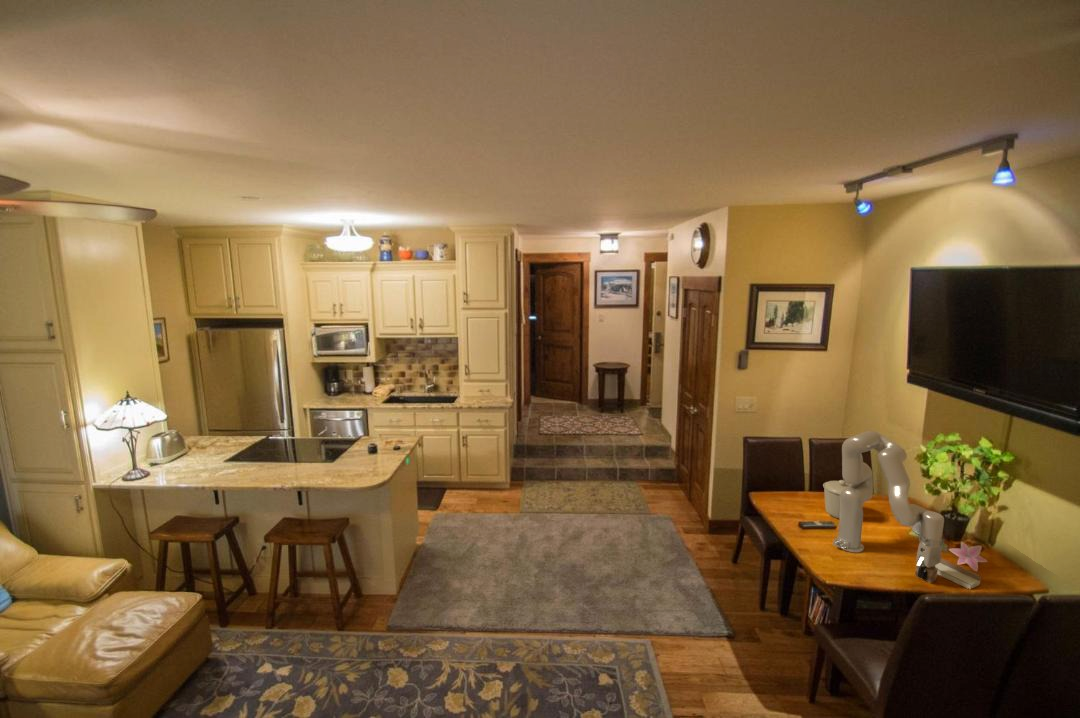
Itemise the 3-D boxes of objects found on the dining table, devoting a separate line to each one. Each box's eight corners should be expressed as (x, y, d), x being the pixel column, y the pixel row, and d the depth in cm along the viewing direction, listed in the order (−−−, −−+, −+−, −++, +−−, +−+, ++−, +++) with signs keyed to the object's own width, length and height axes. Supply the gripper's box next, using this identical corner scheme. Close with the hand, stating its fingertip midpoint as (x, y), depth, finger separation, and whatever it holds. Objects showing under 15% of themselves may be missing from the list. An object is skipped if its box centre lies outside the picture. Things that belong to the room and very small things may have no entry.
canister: (866, 518, 257) (869, 483, 253) (843, 525, 250) (847, 489, 247) (835, 504, 273) (837, 471, 270) (813, 511, 267) (816, 477, 263)
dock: (969, 589, 197) (971, 581, 197) (919, 565, 215) (920, 557, 214) (979, 584, 201) (981, 576, 200) (929, 560, 218) (930, 553, 217)
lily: (943, 558, 221) (946, 546, 216) (964, 547, 222) (967, 535, 217) (970, 579, 211) (973, 568, 206) (991, 567, 212) (995, 556, 207)
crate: (930, 583, 202) (932, 571, 201) (914, 575, 207) (916, 563, 206) (936, 580, 204) (938, 568, 203) (920, 573, 209) (922, 561, 208)
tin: (942, 545, 230) (944, 529, 229) (937, 545, 230) (939, 530, 228) (912, 529, 245) (914, 515, 243) (907, 530, 244) (909, 515, 243)
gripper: (928, 548, 196) (924, 587, 199) (951, 539, 202) (946, 576, 205) (909, 539, 203) (904, 577, 206) (931, 530, 209) (926, 567, 212)
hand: (925, 576), depth 205 cm, fingers closed on crate, 4 cm apart
